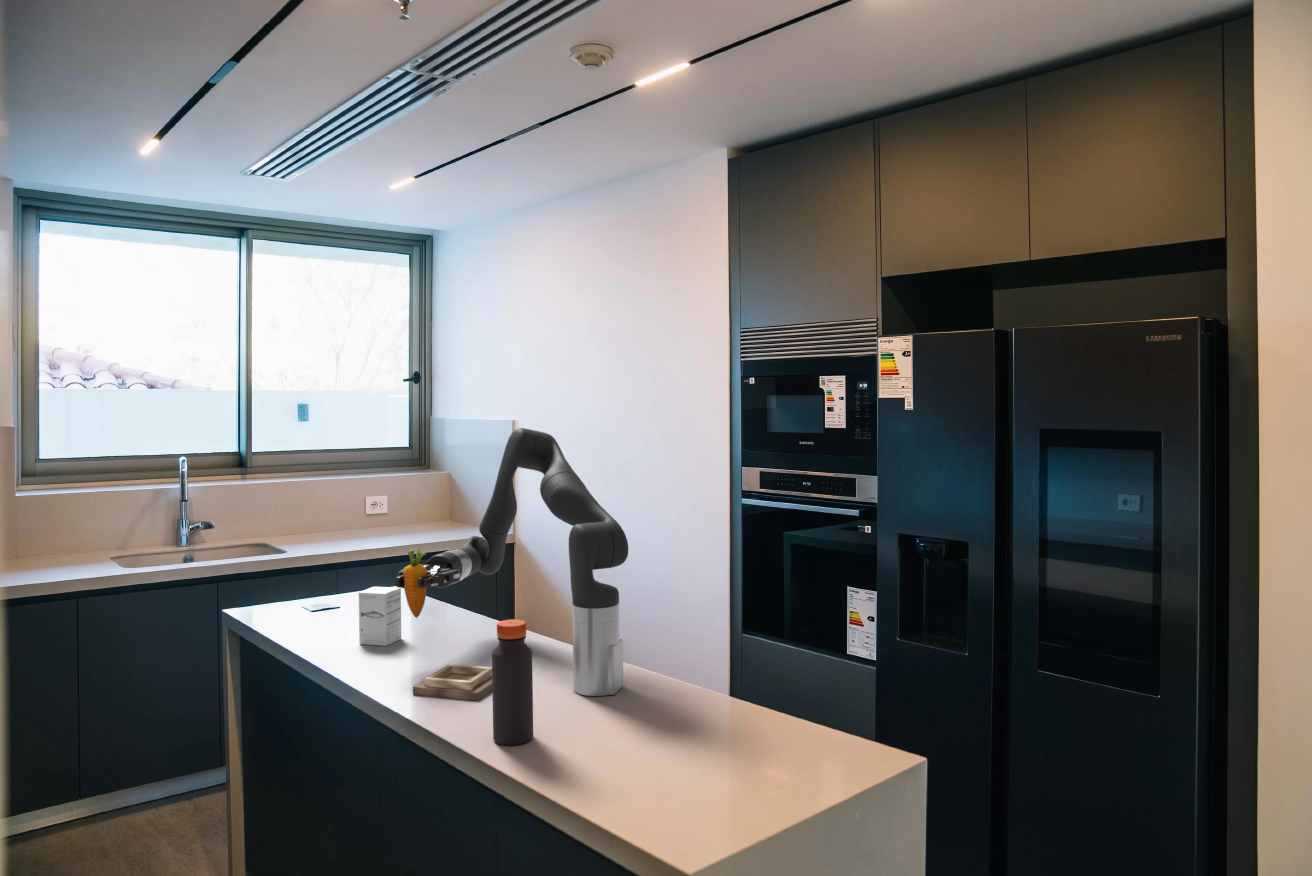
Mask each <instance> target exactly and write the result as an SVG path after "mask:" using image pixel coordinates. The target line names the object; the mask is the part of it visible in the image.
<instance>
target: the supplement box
mask: <svg viewBox="0 0 1312 876" xmlns="http://www.w3.org/2000/svg"><path fill="white" fill-rule="evenodd" d="M401 588H402V587H390V586H371V587H369V588H366V589H364V590H361V591H359V592H358V620H359V621H358V624H359V626H358V627H359V628H358V629H359V633H358V637H359V641H358V643H359V645H368V646H369V645H371V646H372V645H373V646H381V647H382V646H383V647H388V646H390V645H391V644H394V643H395V642H397V641H400V640H401V639H402V595H401V594H402V589H401Z"/></svg>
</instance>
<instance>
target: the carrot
mask: <svg viewBox="0 0 1312 876" xmlns="http://www.w3.org/2000/svg"><path fill="white" fill-rule="evenodd" d="M407 554H408V556H409V560H410V564H408V565H406V566H405V567H403V569H404V570H403V577H404V586H403V589H404V595H405V598H406V602H407V605H408V608H409V610H410V611H411V614H412V616H413V617H415V618H416V619H417V618H418V617H419V616H420V615H421V612H422V611H423V608H424V606H425V602H426V597H427V590H428V586H427V587H425V588H422V589H421V588H418V578H420V577H423V576H426V575H427V569H426V567H425V566H423V565H424V564H421V563H420V562H421V560H422V559H423V557H425V556H426V555H427V553H426V552H422V553H421V549H420V548H417V550H416V554H415V550H414V549H413V548H411V549H410V550H409V551H408V552H407Z"/></svg>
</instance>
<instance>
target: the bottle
mask: <svg viewBox="0 0 1312 876" xmlns="http://www.w3.org/2000/svg"><path fill="white" fill-rule="evenodd" d="M526 635H527V622H526V621H525V620H523V619H517V618H516V619H515V618H514V619H512V618H511V619H503V620H501V621H498V622H497V623H496V637H497V640H498V645H497V646H495V648H494V649H493V651H492V652H491V667H492V733H493V734H492V736H493V737H492V739H493V741H494V742H495V743H496V744H497V745H500V746H506V747H507V746H509V747H510V746H511V747H513V746H520V745H524V744H527V743H528V742H531V740H532V739H533V738H534V699H533V697H534V695H533V693H534V691H533V689H534V688H533V680H534V679H533V651H532V649H531V648H530V647H529V645H527V643H525V639H526V638H527V636H526Z"/></svg>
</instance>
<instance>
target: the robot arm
mask: <svg viewBox="0 0 1312 876" xmlns="http://www.w3.org/2000/svg"><path fill="white" fill-rule="evenodd" d="M502 455H503V456H502V458H501V462H500V465H499V469H498V472H497V476H496V480H495V485H494V489H493V491H492V495H491V498H490V501H489V502H488V505H487V508H486V510H485V512H484V515H483V517H482V519H481V521H480V524H479V527H478V529H479V533H480V535H481V536H482V537H481V536H477V535H473V536H470V537H468V539H467V540H466V541H465V542H464V543H463V545H461V546H460V547H458V548H456V549H450V550H447V551H444V552H440V553H437V554H435V555H432V556H430V557H429V558H428V560H427V561H426V563H425V564H422V565H423V566H425V567H426V569H427V575H426V576H423V577H420V578H418V588H421V589H422V588H425V587H427V588H428V587H429V586H430V587H434V588H439V589H443V588H446V587H449V586H452V585H454V584H457V583H458V582H461V581H462V580H464V579H465V578H468V577H470V576H473V575H474V574H476V573H477V572H480V573H481V574H483V575H485V576H491V575H494V574H496V573H497V572H498V571H499V570H500V568H501V567H502V565H503V562H504V559H505V552H506V543H507V538H508V534H509V532H510V529H511V528H512V525H513V524H514V521H515V519H516V515H517V511H518V501H517V498H516V497H517V496H516V492H515V488H514V478H515V474H516V472H517V469H518V468H521V469H524V470H525V469H526V470H531V471H536V472H539V473H541V474H543V477H542V479H541V482H540V486H539V493H540V497H541V499H542V500H543V502H544V504H545V505H546V507H547V509H548V511H550V512H551V514H552V515H554V516H555V517H556V518H557V519H559V520H560V521H562V522H564V523H566V524H568V525H570V526H572V528H571V529H570V531H569V534H568V535H569V537H568V556H569V557H568V559H569V570H570V571H569V572H570V573H569V574H570V588H571V596H572V598H571V599H572V659H573V660H572V664H573V665H572V667H573V668H572V669H573V670H572V671H573V675H572V676H573V677H572V680H573V681H572V683H573V691H574V692H575V693H576V694H578V695H583V696H589V697H600V696H602V697H603V696H614V695H615V694H617V693H618V692H619V691H620V689H621V688H623V686H624V642H623V641H624V640H623V639H622V638H620V593H619V589H618V588H617V587H615V586H613V585H610V584H606V583H602V582H599V581H598V580H595V577H594V570H595V571H596V570H603V569H611V568H612V569H613V568H615V567H616V568H617V567H619V566H621V565H623V564H624V563H625V562H626V560H627V558H628V556H629V543H628V538H627V536H626V533H625V531H624V529H623V528H622V526H621V524H619V522H618V521H617V520H616V519H615V518H614V517H613V516H612V515H610V513H608V512H607V511H606V509H604V508H603V507H602V506H601V505H600V503H599V502H598V501H597V500H596V499H595V497H594V496H593V495H592V493H591V492H590V491H589V490H588V488H587V486H586V485H585V483H584V482H583V481H582V479H581V478H580V477H579V475H578V474H577V473H576V472H575V471H574V470H573V468H572V466H571V465H570V463H569V462H568V460H567V459H566V457H565V455H564V453H563V451H562V449H561V447H560V445H559V443H558V442H557V440H556V439H555V437H554V436H553V435H551V434H549V433H547V432H544V431H539V430H534V429H530V428H525V427H524V428H523V427H518V428H515V429H514V430H513V431H512V432H511V434H510V436H509V437H508V440H507V442H506V445H505V448H504V452H503V454H502ZM403 570H404V568H402V569H400V570H399V571H398V574H397V575H398V576H396V578H395V585H396V586H395V588H404V577H403Z"/></svg>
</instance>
